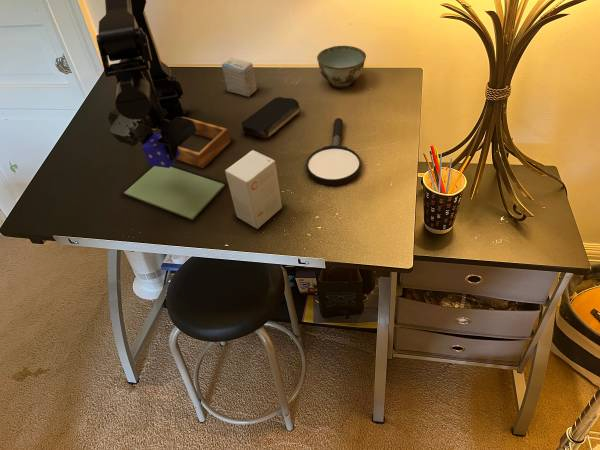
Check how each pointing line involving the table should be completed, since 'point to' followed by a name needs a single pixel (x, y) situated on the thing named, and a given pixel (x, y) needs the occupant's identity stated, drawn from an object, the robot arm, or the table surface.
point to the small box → (254, 188)
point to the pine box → (211, 149)
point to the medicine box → (239, 77)
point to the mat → (175, 190)
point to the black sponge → (271, 117)
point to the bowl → (341, 64)
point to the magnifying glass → (334, 161)
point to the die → (157, 152)
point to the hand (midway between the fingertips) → (163, 156)
